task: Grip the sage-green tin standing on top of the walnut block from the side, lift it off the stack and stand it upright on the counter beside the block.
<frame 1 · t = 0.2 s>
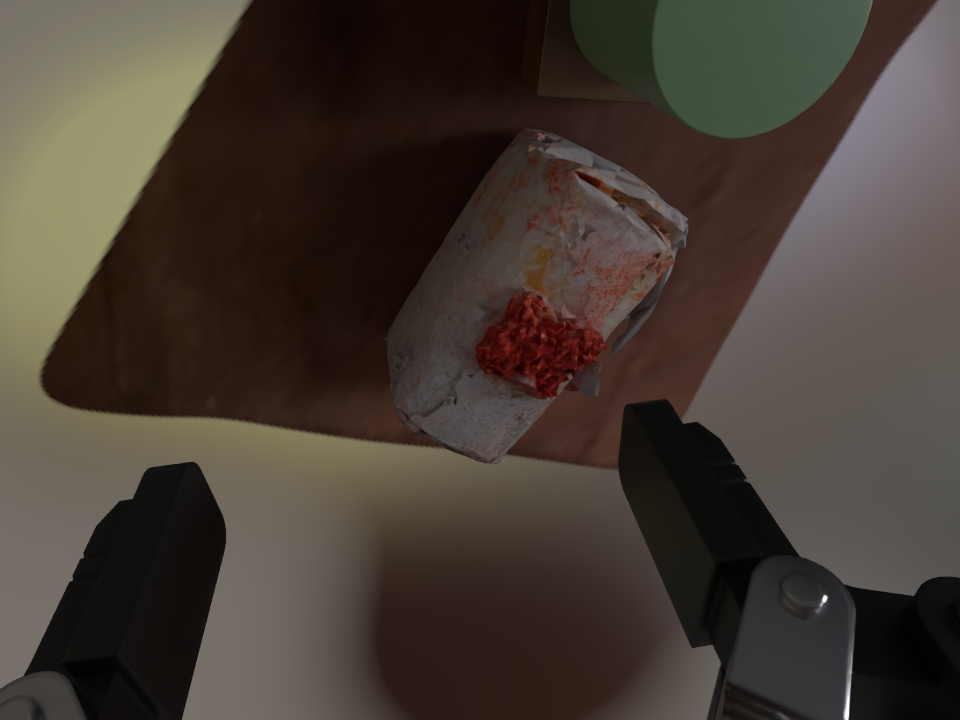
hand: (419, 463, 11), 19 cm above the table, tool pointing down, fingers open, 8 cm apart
food item: (504, 255, 30), on the table
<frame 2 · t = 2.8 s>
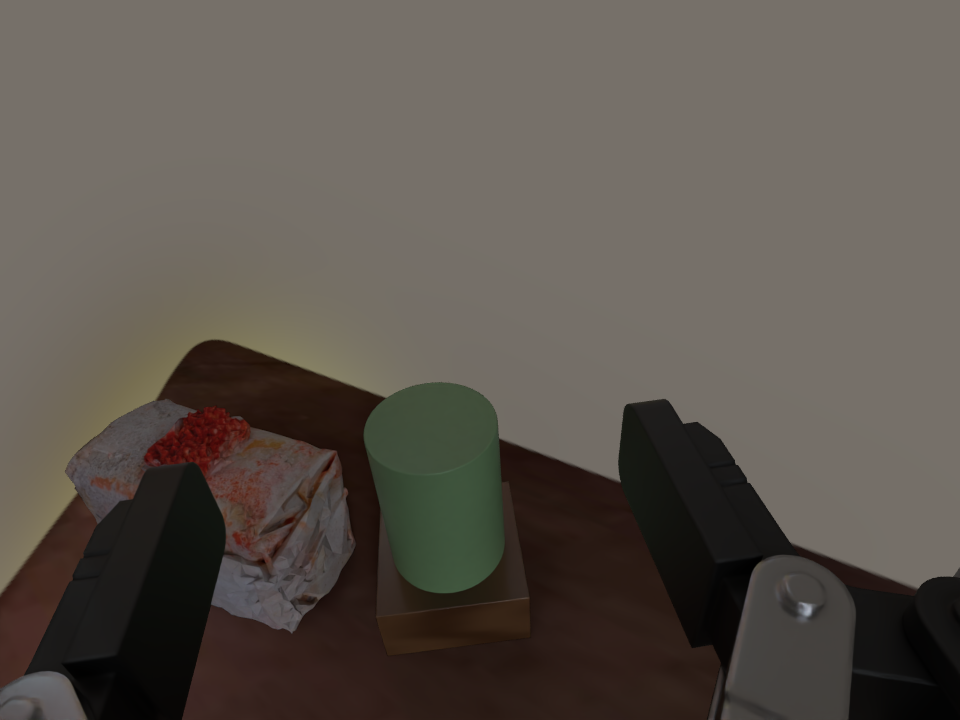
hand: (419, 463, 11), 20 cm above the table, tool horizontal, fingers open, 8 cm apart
green tin: (448, 542, 30), point 3 cm above the table, touching walnut block
food item: (246, 560, 34), on the table
walnut block: (454, 583, 32), on the table, touching green tin
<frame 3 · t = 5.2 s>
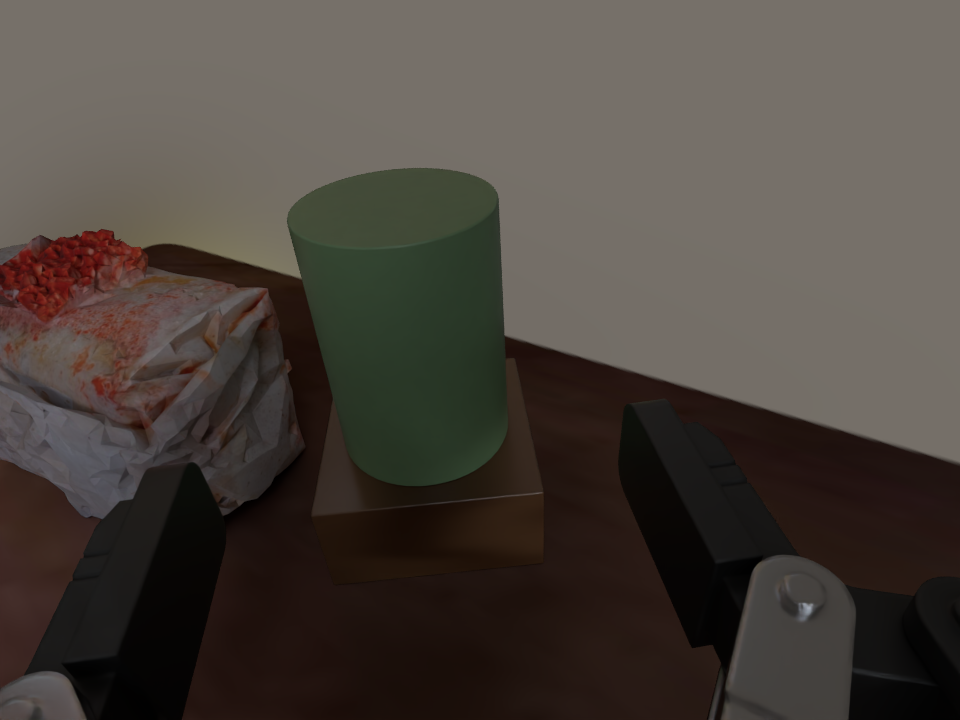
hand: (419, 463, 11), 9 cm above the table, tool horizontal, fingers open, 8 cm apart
green tin: (426, 425, 21), point 3 cm above the table, touching walnut block
food item: (157, 467, 25), on the table
walnut block: (437, 494, 23), on the table, touching green tin
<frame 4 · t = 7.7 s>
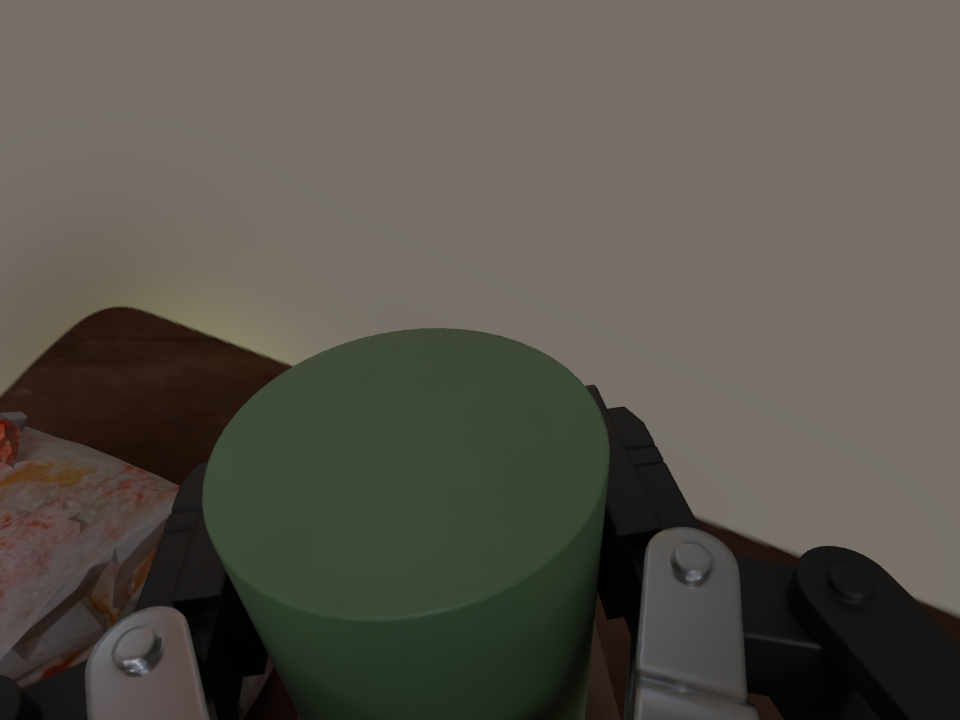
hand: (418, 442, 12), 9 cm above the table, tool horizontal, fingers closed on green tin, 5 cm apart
green tin: (454, 702, 13), point 4 cm above the table, touching gripper, walnut block
food item: (62, 693, 18), on the table
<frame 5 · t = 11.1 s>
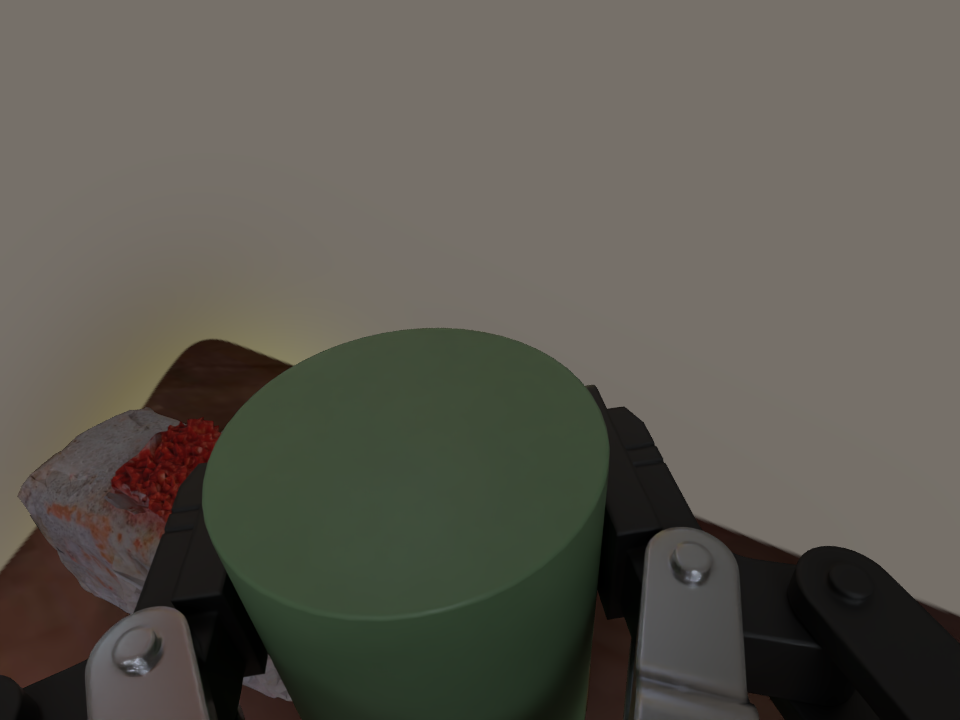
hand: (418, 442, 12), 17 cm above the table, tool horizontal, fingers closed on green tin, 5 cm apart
green tin: (454, 702, 13), point 11 cm above the table, touching gripper
food item: (238, 601, 29), on the table
when the fingers open (6 cm above the table, at t = 14.7 s): green tin stays where it is, on the table.
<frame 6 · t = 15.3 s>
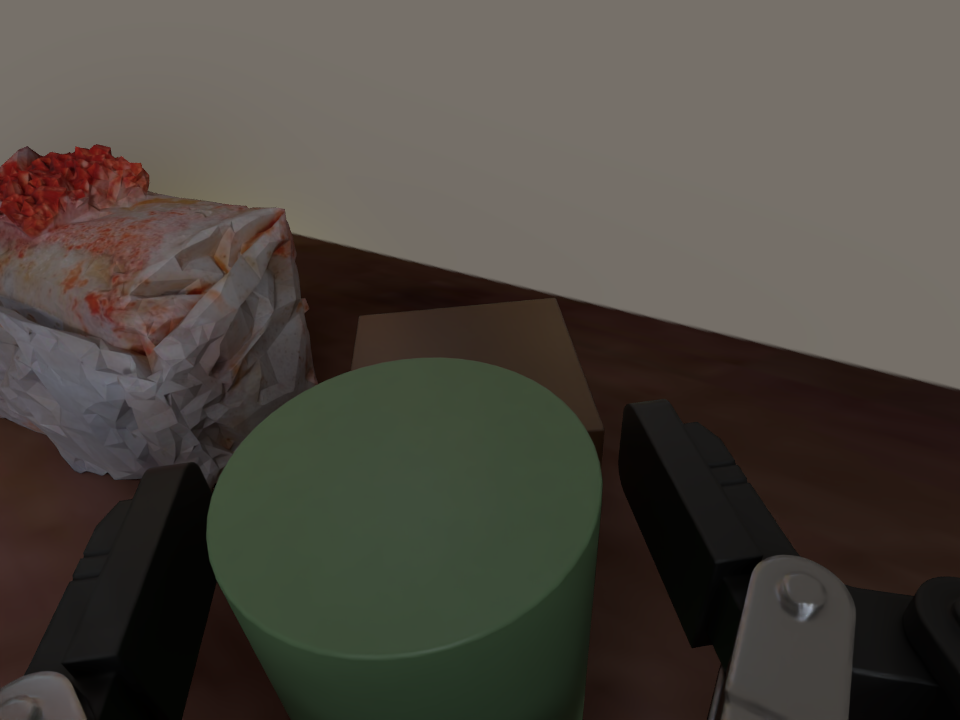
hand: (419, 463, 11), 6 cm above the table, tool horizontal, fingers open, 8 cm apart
food item: (158, 422, 23), on the table
walnut block: (471, 446, 20), on the table
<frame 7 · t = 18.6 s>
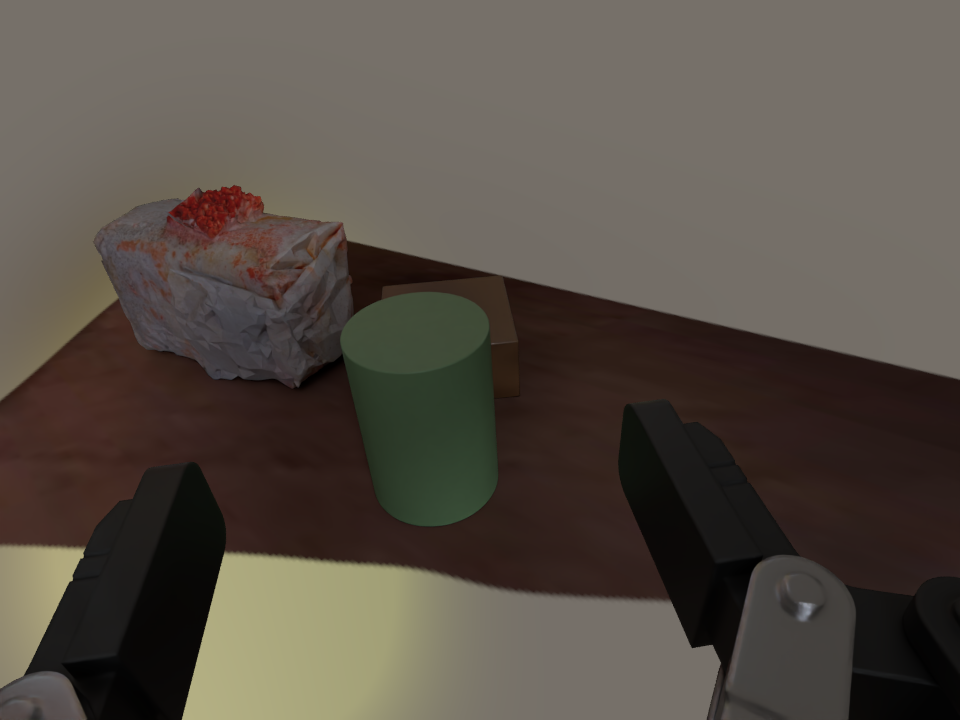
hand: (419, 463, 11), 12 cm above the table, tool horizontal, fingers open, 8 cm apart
green tin: (436, 477, 27), on the table
food item: (256, 354, 36), on the table
walnut block: (450, 363, 34), on the table
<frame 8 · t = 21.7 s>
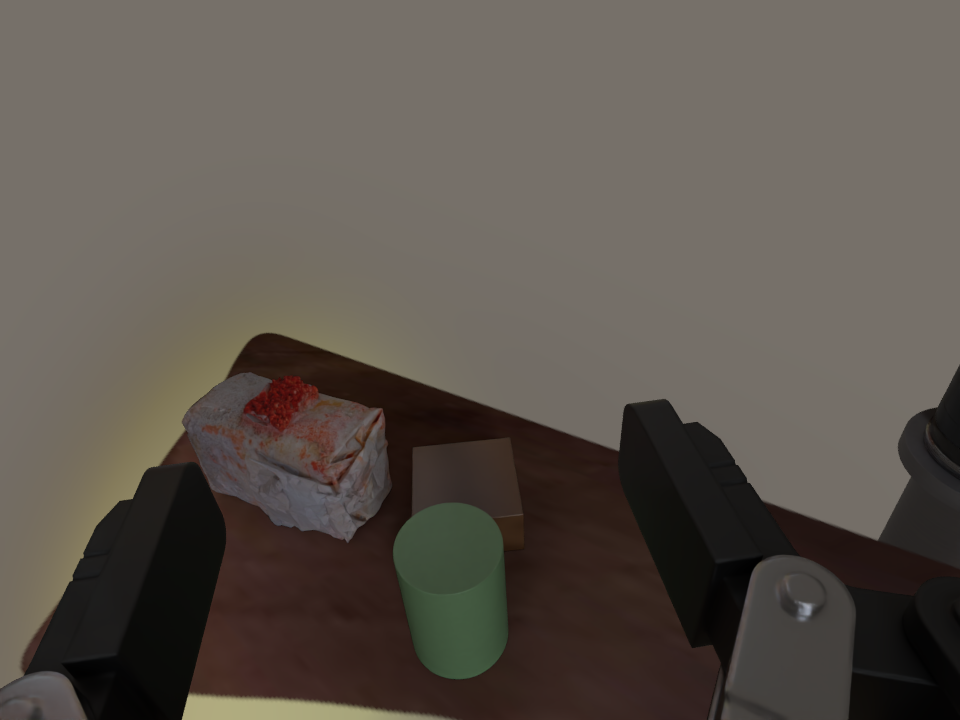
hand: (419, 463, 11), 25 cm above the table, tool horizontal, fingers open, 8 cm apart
green tin: (460, 630, 35), on the table
food item: (308, 497, 44), on the table
walnut block: (467, 513, 42), on the table
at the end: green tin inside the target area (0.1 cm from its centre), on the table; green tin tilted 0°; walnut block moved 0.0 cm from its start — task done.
